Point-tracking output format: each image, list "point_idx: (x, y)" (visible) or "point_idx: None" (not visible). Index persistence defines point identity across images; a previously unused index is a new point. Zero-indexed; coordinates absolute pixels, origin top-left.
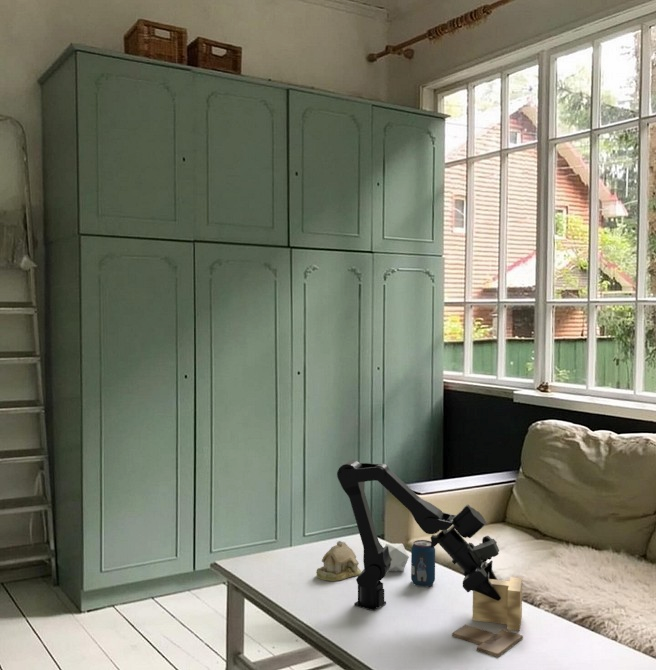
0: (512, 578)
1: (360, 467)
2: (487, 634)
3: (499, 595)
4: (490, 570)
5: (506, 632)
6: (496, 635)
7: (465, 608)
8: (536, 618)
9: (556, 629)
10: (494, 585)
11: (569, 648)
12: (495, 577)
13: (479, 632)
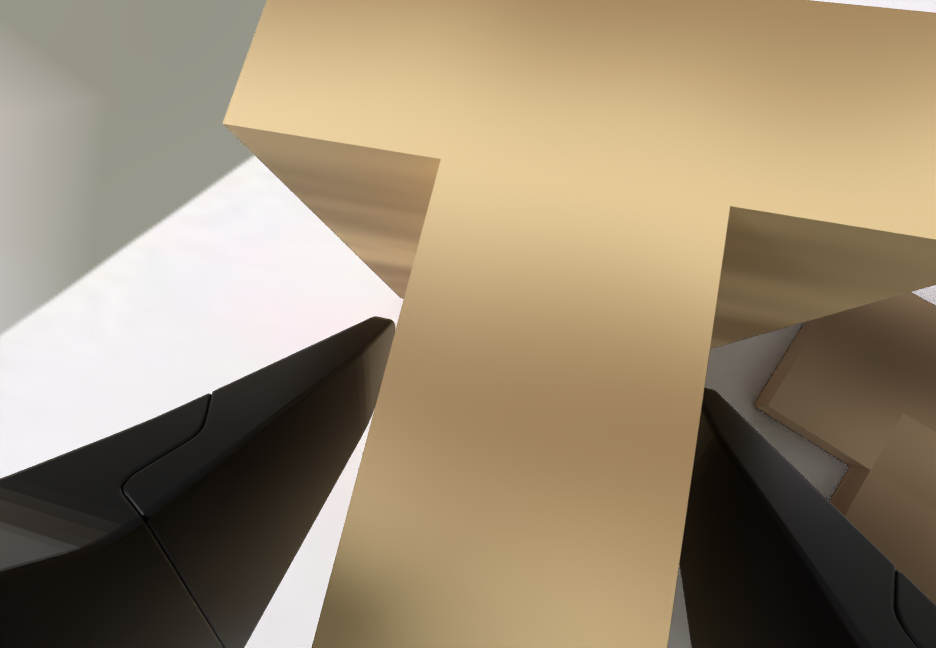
0: (302, 99)
1: None
2: (914, 551)
3: (715, 407)
4: (63, 591)
5: (828, 379)
6: (912, 472)
7: (296, 637)
8: None
9: None
10: (679, 505)
11: (923, 5)
12: (240, 415)
13: None
